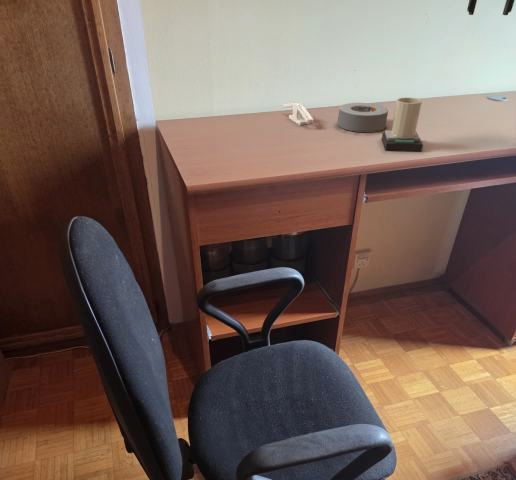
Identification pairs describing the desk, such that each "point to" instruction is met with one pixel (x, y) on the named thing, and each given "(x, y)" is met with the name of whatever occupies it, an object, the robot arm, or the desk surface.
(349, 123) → the tape roll
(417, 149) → the scale
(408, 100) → the cup
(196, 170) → the desk surface
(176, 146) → the desk surface
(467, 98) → the desk surface
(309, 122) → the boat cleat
